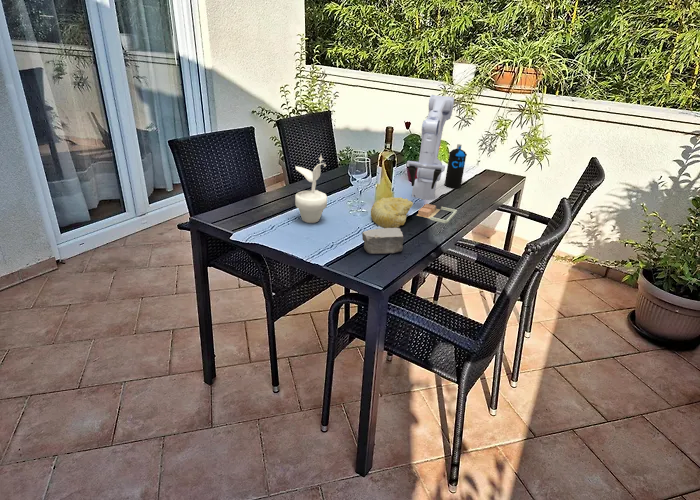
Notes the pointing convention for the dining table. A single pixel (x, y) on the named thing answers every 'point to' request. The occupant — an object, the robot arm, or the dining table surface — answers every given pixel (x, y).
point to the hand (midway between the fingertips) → (422, 187)
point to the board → (432, 213)
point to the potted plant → (311, 196)
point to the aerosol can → (455, 168)
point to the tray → (448, 218)
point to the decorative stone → (383, 241)
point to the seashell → (390, 212)
